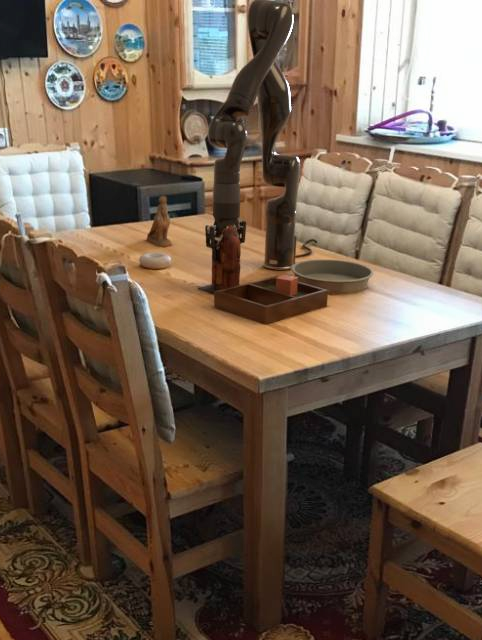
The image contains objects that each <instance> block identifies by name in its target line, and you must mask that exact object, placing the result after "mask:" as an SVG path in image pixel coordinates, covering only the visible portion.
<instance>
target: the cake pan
mask: <svg viewBox="0 0 482 640" xmlns="http://www.w3.org/2000/svg"><path fill="white" fill-rule="evenodd" d="M290 270H291V272H292V273H293V274H294V277H298V282H301V283H305V284H308V285H312V286H315V287H319V288H323V289H326V290H328V295H329V294H330V295H348V294H354V293H355V294H356V293H359V292H362V291H364V290H365V289H366V288H367V287H368V284H369V281H370V279H371V278H372V277H373V276H374V270H373V269H371V268H370V267H368V266H367V265H365V264H364V265H363V264H361V263H357V262H353V261H348V260H341V259H340V260H339V259H308V260H302V261H299V262H295V264H294V265H293V266H292V267H291V269H290Z"/></svg>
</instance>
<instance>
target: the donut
mask: <svg viewBox="0 0 482 640" xmlns="http://www.w3.org/2000/svg"><path fill="white" fill-rule="evenodd" d="M138 259H139V260H138V262H139V264H140V265H141V266H142V267H143V268H145V269H152V270H160V269H166V268H168V267H169V266H171V264H172V258H171V256H170V255H169V254H167V253H163V252H146V253H143V254H141V255H140V257H139V258H138Z"/></svg>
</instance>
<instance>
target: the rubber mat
mask: <svg viewBox="0 0 482 640" xmlns="http://www.w3.org/2000/svg"><path fill="white" fill-rule="evenodd" d="M197 290H199V291H203V292H206V293H210V294H212V295H214V291H217V289H216V288H213V287H212V283H211V284H208V285H204V286H199V287H197Z"/></svg>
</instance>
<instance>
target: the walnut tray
mask: <svg viewBox="0 0 482 640" xmlns="http://www.w3.org/2000/svg"><path fill="white" fill-rule="evenodd" d="M277 277H280V275H274V276H271V277H267V278H263V279H259V280H254V281H250V282H246V283H242V284H239V285H237V286H233V287H229V288H225V289H221V290H217V291H214V294H213V308H215V309H218V310H221V311H224V312H227V313H229V314H233V315H235V316H238V317H241V318H244V319H248V320H252V321H254V322H256V323H257V322H258V323H261V324H263V325H267V324H268V325H269V324H271V323H275V322H279V321H281V320H285V319H288V318H292V317H294V316H299V315H301V314H305V313H308V312H312V311H315V310H318V309H322V308H325V307H328V298H329V294H328V290H326V289H323V288H319V287H315V286H312V285H308V284H305V283H301V282H298V285H297V294H295V295H293V296H291V295H288V294H284V293H281V292H277V291H276V278H277Z"/></svg>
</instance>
